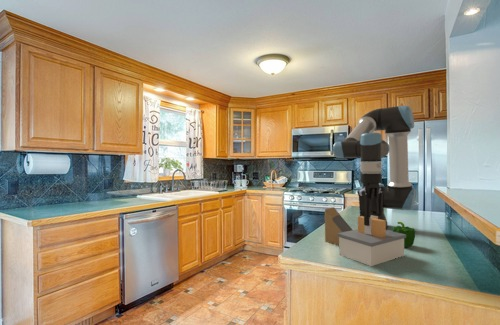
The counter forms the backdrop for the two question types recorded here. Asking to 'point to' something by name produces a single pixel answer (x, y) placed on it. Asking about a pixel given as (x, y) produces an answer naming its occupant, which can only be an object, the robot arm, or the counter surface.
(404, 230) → the bell pepper
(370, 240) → the lid
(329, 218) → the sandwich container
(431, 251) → the counter surface
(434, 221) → the counter surface
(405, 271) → the counter surface
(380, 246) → the tub
